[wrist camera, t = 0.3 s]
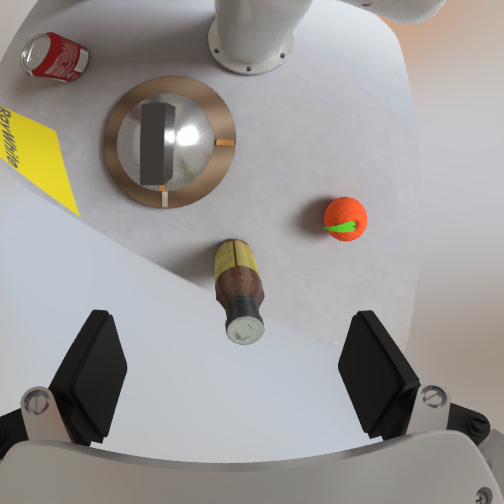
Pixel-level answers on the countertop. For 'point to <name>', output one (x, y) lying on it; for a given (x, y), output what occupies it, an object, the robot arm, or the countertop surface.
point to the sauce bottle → (239, 291)
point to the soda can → (54, 58)
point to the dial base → (218, 160)
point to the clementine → (345, 219)
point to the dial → (165, 142)
